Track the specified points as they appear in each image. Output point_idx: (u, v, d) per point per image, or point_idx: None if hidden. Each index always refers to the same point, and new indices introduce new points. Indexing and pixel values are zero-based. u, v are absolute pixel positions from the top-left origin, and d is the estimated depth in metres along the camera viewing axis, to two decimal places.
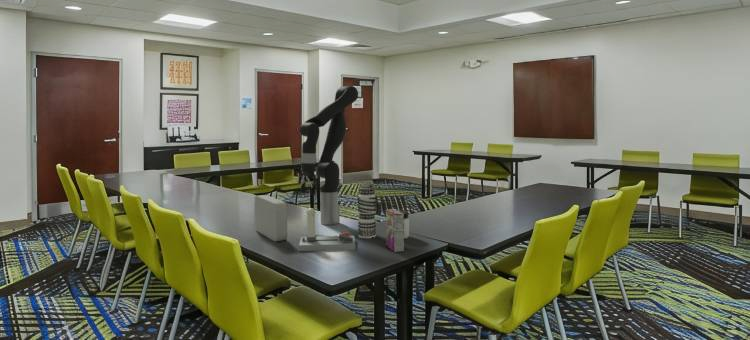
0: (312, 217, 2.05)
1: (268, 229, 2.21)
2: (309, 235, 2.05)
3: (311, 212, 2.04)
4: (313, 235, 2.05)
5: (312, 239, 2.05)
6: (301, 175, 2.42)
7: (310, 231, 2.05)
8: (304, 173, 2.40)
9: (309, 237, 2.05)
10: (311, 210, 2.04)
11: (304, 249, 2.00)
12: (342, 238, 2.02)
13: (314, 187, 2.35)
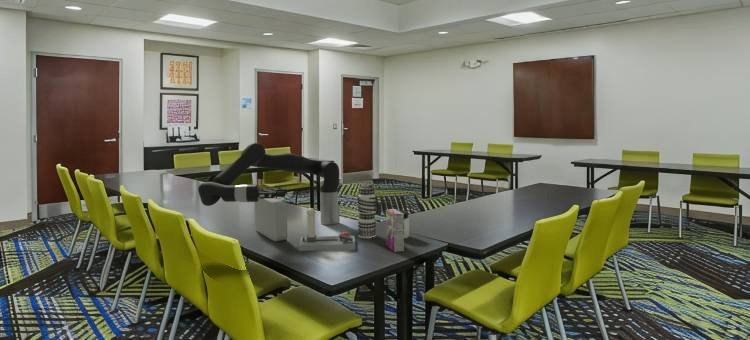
0: (312, 217, 2.05)
1: (268, 229, 2.21)
2: (309, 235, 2.05)
3: (311, 212, 2.04)
4: (313, 235, 2.05)
5: (312, 239, 2.05)
6: None
7: (310, 231, 2.05)
8: None
9: (309, 237, 2.05)
10: (311, 210, 2.04)
11: (304, 249, 2.00)
12: (342, 238, 2.02)
13: (275, 194, 1.99)
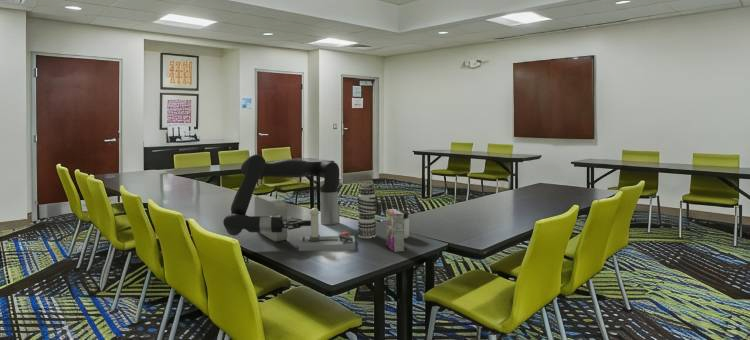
0: (316, 217, 2.05)
1: None
2: (312, 235, 2.05)
3: (315, 212, 2.04)
4: (316, 235, 2.06)
5: (315, 239, 2.05)
6: None
7: (313, 231, 2.05)
8: None
9: (312, 237, 2.05)
10: (315, 210, 2.04)
11: (304, 249, 2.00)
12: (342, 238, 2.02)
13: (302, 224, 2.05)
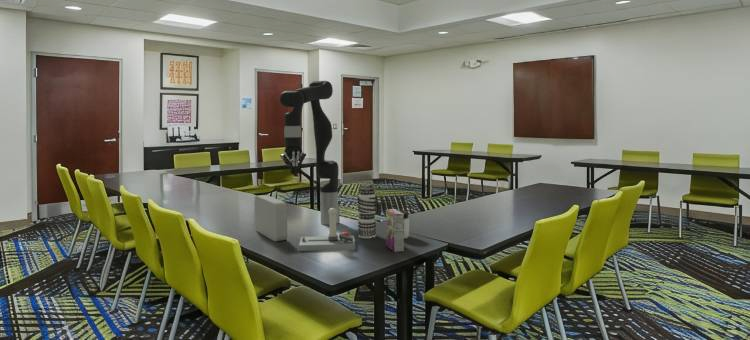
0: (334, 217, 2.05)
1: (268, 229, 2.21)
2: (331, 235, 2.06)
3: (333, 212, 2.05)
4: (335, 235, 2.06)
5: (334, 239, 2.06)
6: None
7: (332, 231, 2.06)
8: None
9: (331, 237, 2.06)
10: (333, 210, 2.05)
11: (304, 249, 2.00)
12: (342, 238, 2.02)
13: (290, 166, 2.10)
